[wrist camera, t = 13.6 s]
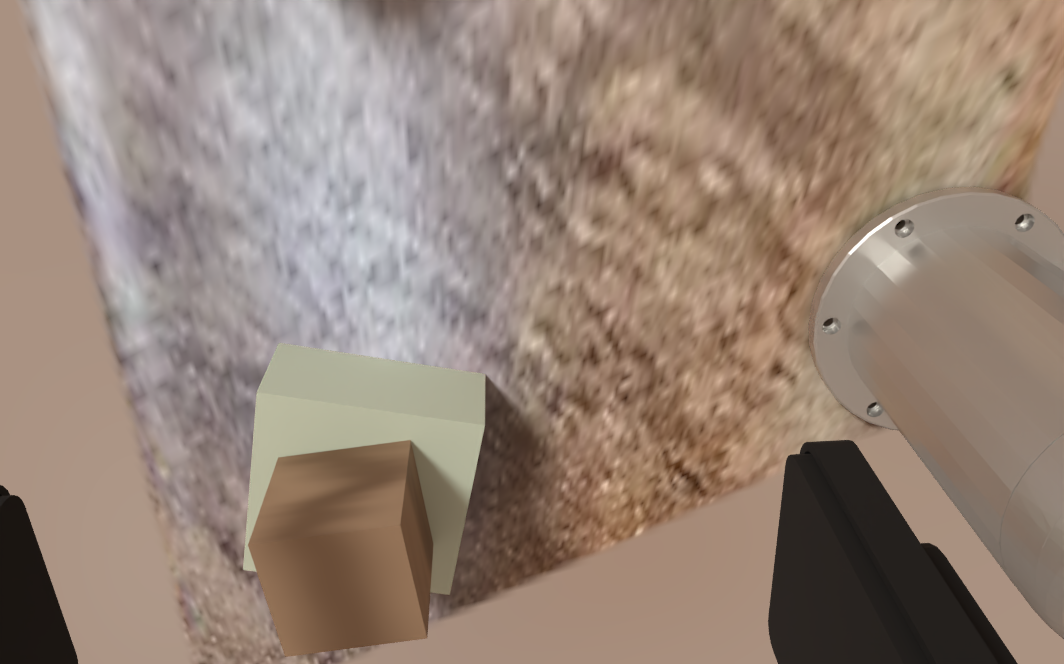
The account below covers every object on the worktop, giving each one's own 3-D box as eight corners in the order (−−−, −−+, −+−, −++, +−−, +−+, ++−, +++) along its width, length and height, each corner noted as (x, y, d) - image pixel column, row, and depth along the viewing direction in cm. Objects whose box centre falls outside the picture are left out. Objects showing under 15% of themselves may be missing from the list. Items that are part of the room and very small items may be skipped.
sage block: (485, 371, 45) (484, 425, 41) (453, 529, 50) (449, 594, 45) (280, 339, 44) (256, 392, 39) (265, 505, 48) (243, 569, 44)
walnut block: (410, 439, 41) (400, 525, 36) (433, 544, 44) (427, 638, 38) (278, 457, 41) (247, 545, 36) (309, 560, 44) (285, 656, 38)
